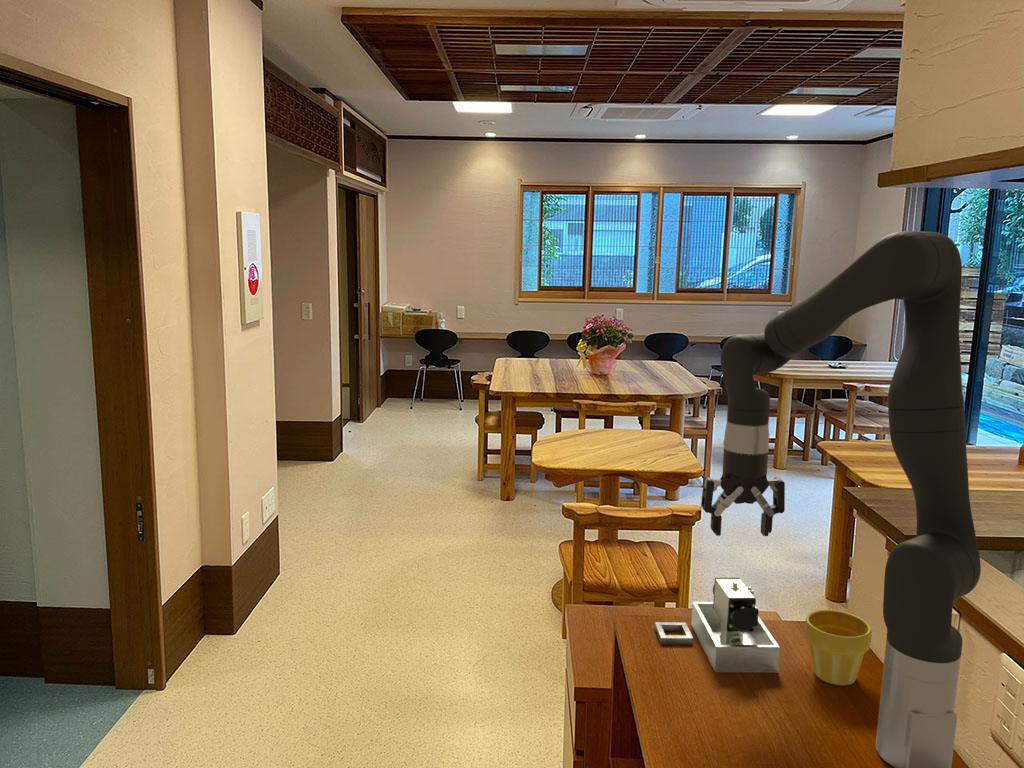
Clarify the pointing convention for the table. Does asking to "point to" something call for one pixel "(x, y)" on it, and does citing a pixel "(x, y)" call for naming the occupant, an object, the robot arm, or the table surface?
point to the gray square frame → (673, 639)
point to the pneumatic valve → (734, 609)
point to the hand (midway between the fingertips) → (740, 534)
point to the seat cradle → (749, 657)
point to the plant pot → (837, 644)
